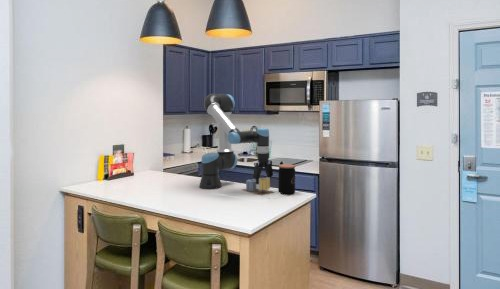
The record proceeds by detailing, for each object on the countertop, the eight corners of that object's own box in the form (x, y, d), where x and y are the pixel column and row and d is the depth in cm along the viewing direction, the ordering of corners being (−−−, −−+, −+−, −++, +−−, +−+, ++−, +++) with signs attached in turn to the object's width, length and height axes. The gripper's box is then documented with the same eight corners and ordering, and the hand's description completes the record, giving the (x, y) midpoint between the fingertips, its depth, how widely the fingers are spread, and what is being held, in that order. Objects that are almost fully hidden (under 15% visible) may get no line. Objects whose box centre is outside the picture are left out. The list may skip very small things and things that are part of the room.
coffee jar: (294, 195, 230) (294, 167, 228) (277, 194, 232) (277, 166, 230) (295, 191, 240) (295, 164, 238) (279, 190, 242) (279, 164, 241)
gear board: (240, 191, 241) (240, 183, 240) (254, 188, 249) (254, 180, 248) (261, 196, 226) (261, 188, 226) (275, 193, 234) (275, 185, 234)
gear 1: (243, 190, 240) (243, 181, 239) (250, 187, 247) (250, 178, 246) (254, 191, 235) (254, 182, 235) (261, 189, 242) (261, 180, 242)
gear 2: (253, 188, 234) (253, 179, 233) (263, 186, 239) (263, 177, 239) (263, 190, 227) (263, 181, 227) (272, 188, 233) (272, 179, 232)
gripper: (255, 154, 221) (255, 191, 224) (278, 151, 235) (278, 186, 237) (247, 153, 227) (247, 189, 229) (270, 150, 241) (270, 184, 243)
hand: (263, 188), depth 233 cm, fingers closed on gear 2, 8 cm apart
